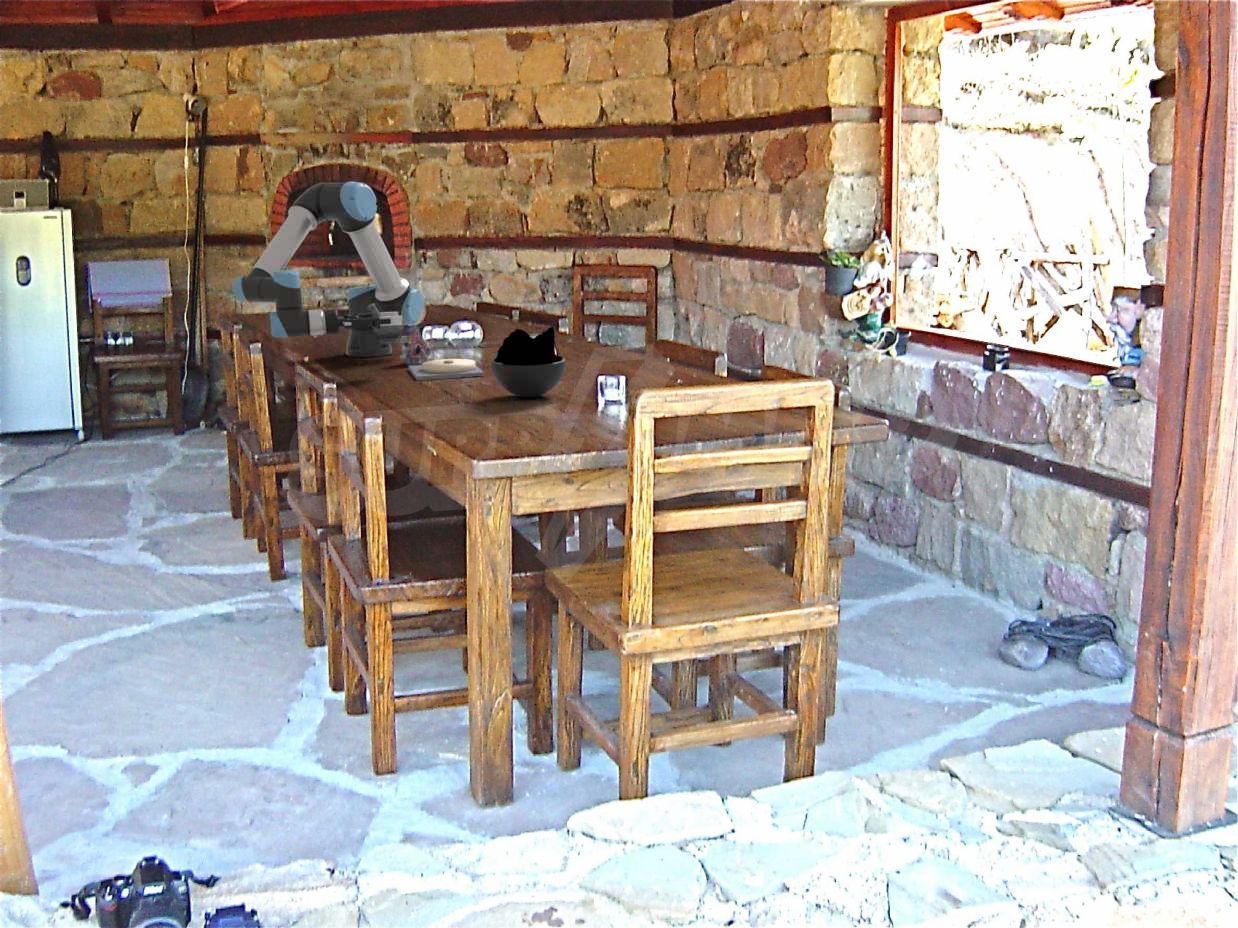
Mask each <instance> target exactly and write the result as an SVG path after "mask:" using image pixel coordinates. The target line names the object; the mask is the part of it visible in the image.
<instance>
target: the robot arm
mask: <svg viewBox="0 0 1238 928" xmlns="http://www.w3.org/2000/svg"><path fill="white" fill-rule="evenodd" d="M376 203H377V197H376V195H375V192H374V191H373V189H372V188H371V187H370V186H369V185H367V184H366V183H364V182H356V181H347V182H329V181H328V182H327V181H326V182H325V181H324V182H323V181H322V182H319V183H315V184H314V185H312V186H311V187H309V188H307V189H306V190H305V191H304V192H303V193H302V194H300V195H299V196H298V197H297V198H296V200H295V201H294V202H293V203H292V205H291V206H290V207H289V209H288V211H287V212H288V213H287V215H288V216H287V217H286V219H285V220H284V222H283V224H282V225H281V226H280V227H279V229H278V230H277V233H275V235H274V236H273V238H272V240H271V241H270V242H269V244H268V245H267V247H266V248H265V250H264V251H263V252H262V254H261V255H260V257H259V258H258V259H257V261H256V263H255V264H254V265H253V267H252V269H250V271H249V273H248V274H247V275H242V276H238V277H236V278H235V280H234V281H233V285H232V293H233V295H234V297H235V298H236V299H237V300H239V301H241V302H245V303H247V302H248V303H270V304H271V303H274V304H275V311H274V312H270V313H269V318H270V319H269V320H270V329H271V331H270V332H271V336H272V337H274V338H298V337H310V336H312V337H313V338H315V339H316V338H317V337H318V336H324V335H325V334H326V335H327V336H330V335H331V336H334V335H338V334H339V333H340V331H339V327H343V328H344V329H349V336H348V339H347V342H346V343H347V344H346V347H345V353H346V356H348V357H353V358H354V357H355V358H370V357H372V358H373V357H383V356H388V355H391V354H392V353H393V352H392V351H393V349H392V345H391V344H392V343H391V344H382V343H379V339H380V338H379V337H378V336H377V335H376V333H375V332H374V330H373V327H377V329H380V326H392V325H402V318H404V326H407V325H408V326H409V325H411V326H412V325H415V324H417V322H419V320H420V319H421V317H422V315H423V312H424V307H425V306H424V304H425V301H424V296H423V294H422V293H423V292H421V290H419V289H416V288H412V287H411V286H410V283H409V282H408V280H407V279H406V278H404V277H401V275H400V274H399V272H398V269H397V267H396V266H395V263H394V262H393V260H392V257H391V255H390V253H389V251H388V248H387V247H386V245H385V243H384V241H383V238H382V237H381V234H380V232H379V230H378V228H377V226H376V225H375V224H376V223H375V222H374V221H375V219H376V213H377V210H378V205H377V204H376ZM325 221H333V222H335V221H336V222H337V224H338V226H339V228H340V230H341V231H342V232H343V233H346V234H348V235H349V237H350V238H351V241H352V243H353V244H354V247H355V249H356V251H357V252H358V253H357V254H358V255H359V257H360V258H361V260H362V262H363V264H364V266H365V268H366V271H367V273H368V274H369V276H370V278H371V280H372V282H373V284H371V285H370V284H369V285H363V286H356V287H355V286H354V287H351V288H350V289H348V291H347V307H348V313H343V314H341V315H340V316H338V310H337V309H336V308H333V309H331V308H330V309H328V308H327V309H324V310H323V309H308V310H303V301H302V300H303V298H302V284H301V280H300V279H301V278H300V273H299V271H297V270H296V269H285V267H286V266H287V265H288V263H289V261H291V259H292V257H293V256H294V254H296V251H297V250H298V249H299V247H300V245H301V244H302V242H303V241H304V240H305V238H306V237H307V235H308V234H309V232H310V231H314V230H315V229H316V228H317V227H318V226H319V224H321V223H322V222H325ZM372 303H374V304H375V305H376V308H377V310H378V311H379V312H380V314H381V315H382V316H383V317H379V318H378V317H377V318H373V317H372V315H371V313H370V311H368V310H367V306H368V305H370V304H372Z"/></svg>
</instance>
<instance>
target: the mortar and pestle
mask: <svg viewBox="0 0 1238 928" xmlns="http://www.w3.org/2000/svg"><path fill="white" fill-rule="evenodd" d="M367 310H368V311H370V313H371V315H372V317H373V318H377V317H378V318H379V317H383V316H382V315H381V314H380V312H379V311H378V310H377V308H376V305H375V304H374V303H372V304H370V305H368V306H367ZM373 330H374V332H375V333H376V335H377V336H378V337H379V338H380V339H379V343H382V344H397V343H400V336H402V334H403V331H404V330H405V325H404V318H402V325H392V326H380V329H377V327H373Z"/></svg>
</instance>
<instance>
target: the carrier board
mask: <svg viewBox="0 0 1238 928" xmlns="http://www.w3.org/2000/svg"><path fill="white" fill-rule="evenodd" d="M408 371H409V372H410V374H411V375H412V376H413V378H414V379H415V380H416V381H429V380H445V379H448V380H449V379H460V378H461V377H465V378H474V377H473V376H481V377H485V372H484V371H483V370H482V369H480V367H479V366H477V365H476V360H474V359H467V358H466V359H464V358H447V359H446V358H444V359H433V360H432V361H427V362H424V363H422V365H415V366H408Z"/></svg>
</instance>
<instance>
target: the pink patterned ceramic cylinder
mask: <svg viewBox="0 0 1238 928" xmlns="http://www.w3.org/2000/svg"><path fill="white" fill-rule="evenodd" d="M399 343H401V344H402V348H401V353H402V354H400V355H398V356H397V358H398V359H400V360H401V361H402V362H403V363H404V364H405V365H406V366H407V367H409V366H415V365H422V363H424V362H427V361H432V360H435V359H434V353H433V352H432V348H431V347H430V346H427V345H426V342H425V340H424V338H423V336H422V335H421V333H420V332H419V330H418V329H416V330H415V331H414V333H413V335H412V339H411V341H409V340H408V336H407V335H404V336H403V335H401V338H400V339H399Z"/></svg>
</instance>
